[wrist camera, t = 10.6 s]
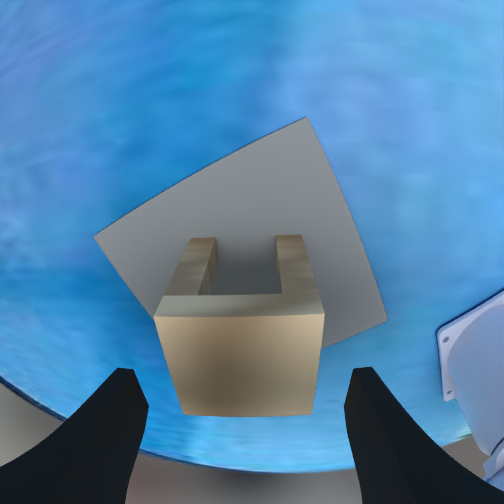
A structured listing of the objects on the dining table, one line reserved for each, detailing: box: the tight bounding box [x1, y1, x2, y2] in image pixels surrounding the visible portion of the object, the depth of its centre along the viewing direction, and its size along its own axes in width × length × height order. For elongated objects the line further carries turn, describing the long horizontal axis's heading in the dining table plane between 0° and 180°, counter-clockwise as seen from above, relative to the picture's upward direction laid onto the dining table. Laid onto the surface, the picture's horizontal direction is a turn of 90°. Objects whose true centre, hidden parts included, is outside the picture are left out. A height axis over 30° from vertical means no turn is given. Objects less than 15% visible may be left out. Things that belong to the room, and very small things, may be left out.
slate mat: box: [94, 117, 388, 349], centre depth 16 cm, size 12×12×1 cm
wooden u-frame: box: [154, 234, 325, 417], centre depth 13 cm, size 5×5×6 cm
